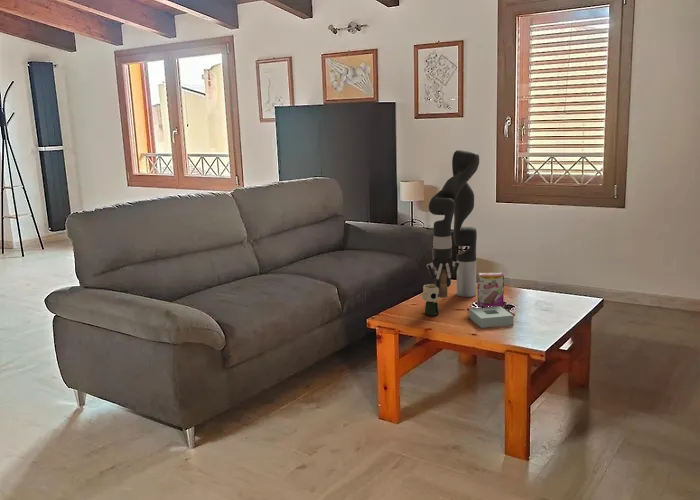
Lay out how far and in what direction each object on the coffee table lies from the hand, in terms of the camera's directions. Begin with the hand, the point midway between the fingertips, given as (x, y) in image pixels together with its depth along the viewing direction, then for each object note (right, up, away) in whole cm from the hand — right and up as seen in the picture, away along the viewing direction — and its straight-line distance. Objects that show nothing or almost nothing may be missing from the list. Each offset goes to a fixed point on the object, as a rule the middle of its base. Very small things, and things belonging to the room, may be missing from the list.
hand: (442, 286), depth 271 cm
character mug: (-3, -13, +17) cm, 21 cm away
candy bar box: (+24, -12, +21) cm, 34 cm away
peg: (0, -4, +1) cm, 4 cm away
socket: (+21, -15, +4) cm, 26 cm away
